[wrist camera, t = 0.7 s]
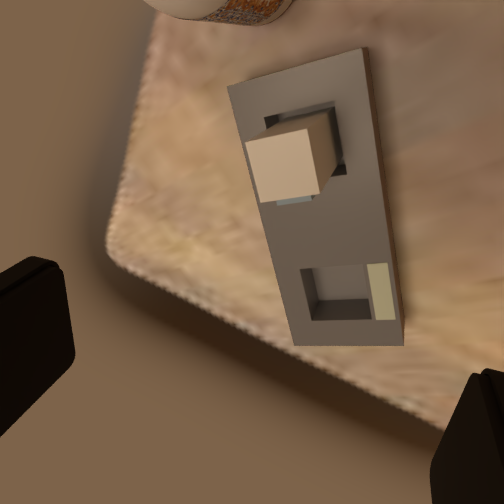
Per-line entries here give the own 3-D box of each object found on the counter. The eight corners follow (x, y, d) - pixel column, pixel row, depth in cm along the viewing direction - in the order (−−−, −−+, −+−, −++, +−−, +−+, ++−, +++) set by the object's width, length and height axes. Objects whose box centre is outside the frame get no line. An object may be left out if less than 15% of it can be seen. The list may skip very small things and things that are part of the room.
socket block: (367, 47, 30) (361, 47, 27) (404, 319, 39) (403, 346, 35) (245, 82, 34) (226, 86, 31) (303, 321, 43) (294, 346, 39)
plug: (334, 106, 32) (307, 128, 24) (344, 163, 34) (321, 202, 26) (286, 117, 34) (244, 142, 25) (298, 171, 36) (262, 211, 27)
